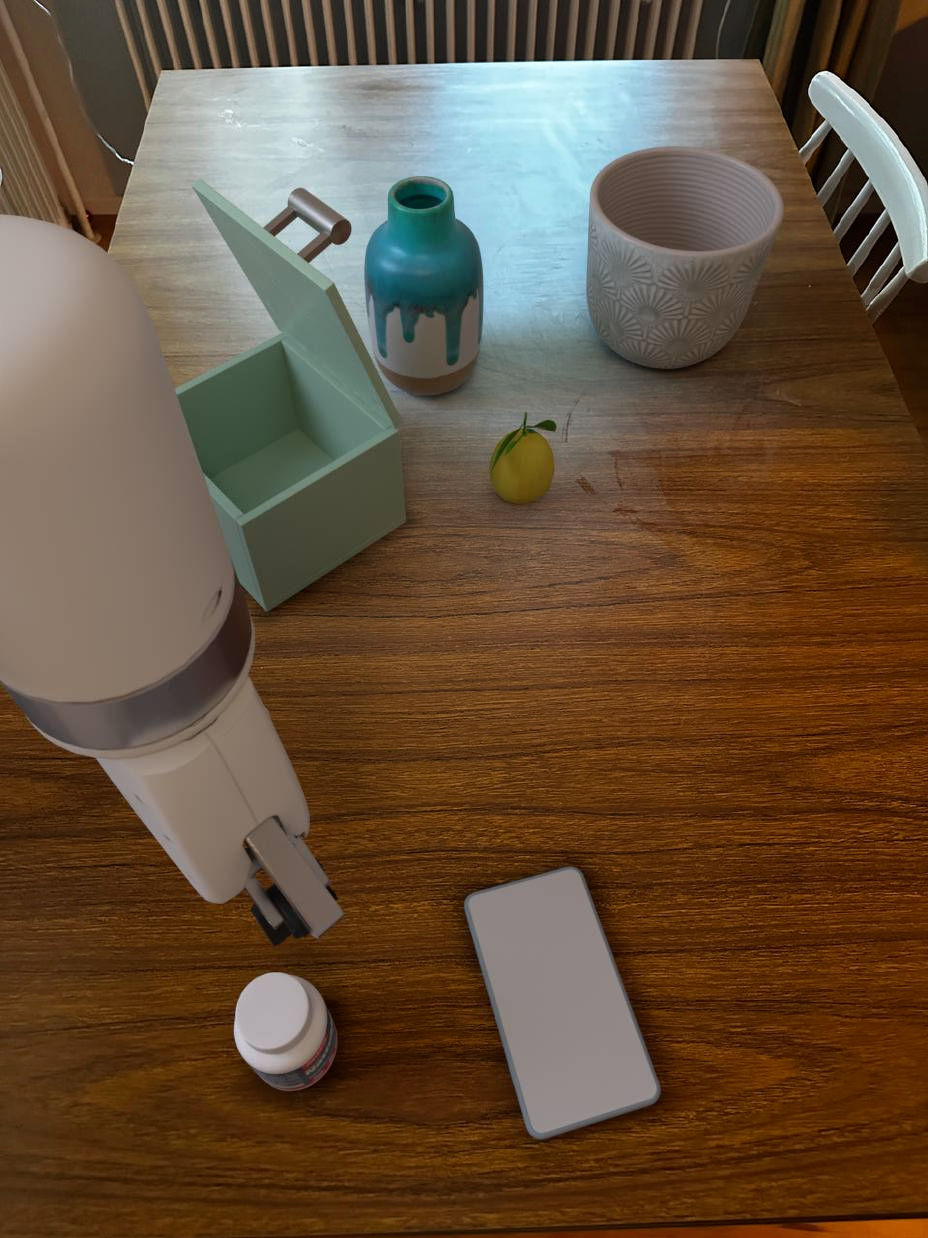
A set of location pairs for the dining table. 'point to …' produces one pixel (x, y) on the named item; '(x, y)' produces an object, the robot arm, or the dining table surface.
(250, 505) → the green box
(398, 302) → the vase
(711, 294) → the planter
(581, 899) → the smartphone
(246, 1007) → the pill bottle
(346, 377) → the box lid
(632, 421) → the dining table surface
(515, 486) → the lemon
